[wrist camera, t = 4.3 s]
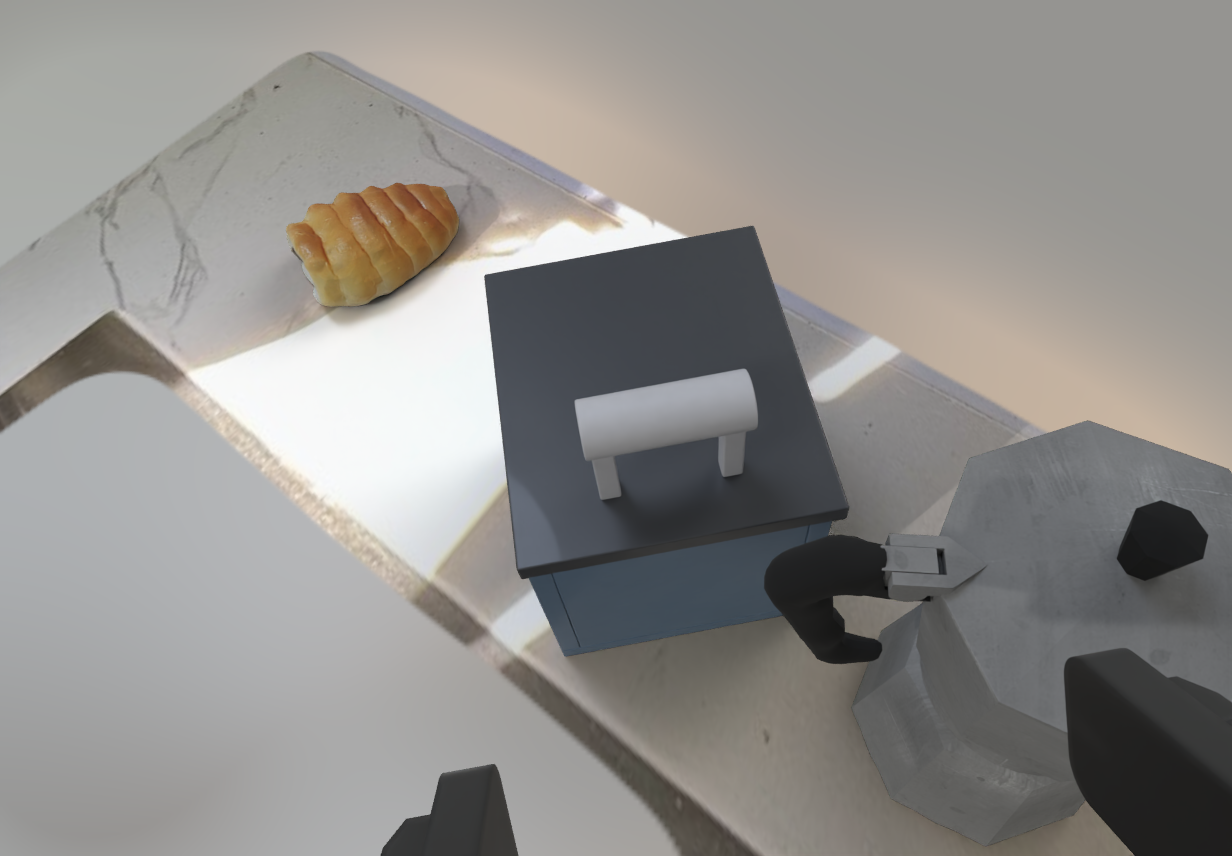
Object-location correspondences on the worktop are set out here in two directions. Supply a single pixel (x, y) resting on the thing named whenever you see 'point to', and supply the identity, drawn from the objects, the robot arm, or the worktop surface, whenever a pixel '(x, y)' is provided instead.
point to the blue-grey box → (665, 592)
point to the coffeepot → (1021, 616)
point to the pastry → (372, 240)
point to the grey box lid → (653, 404)
